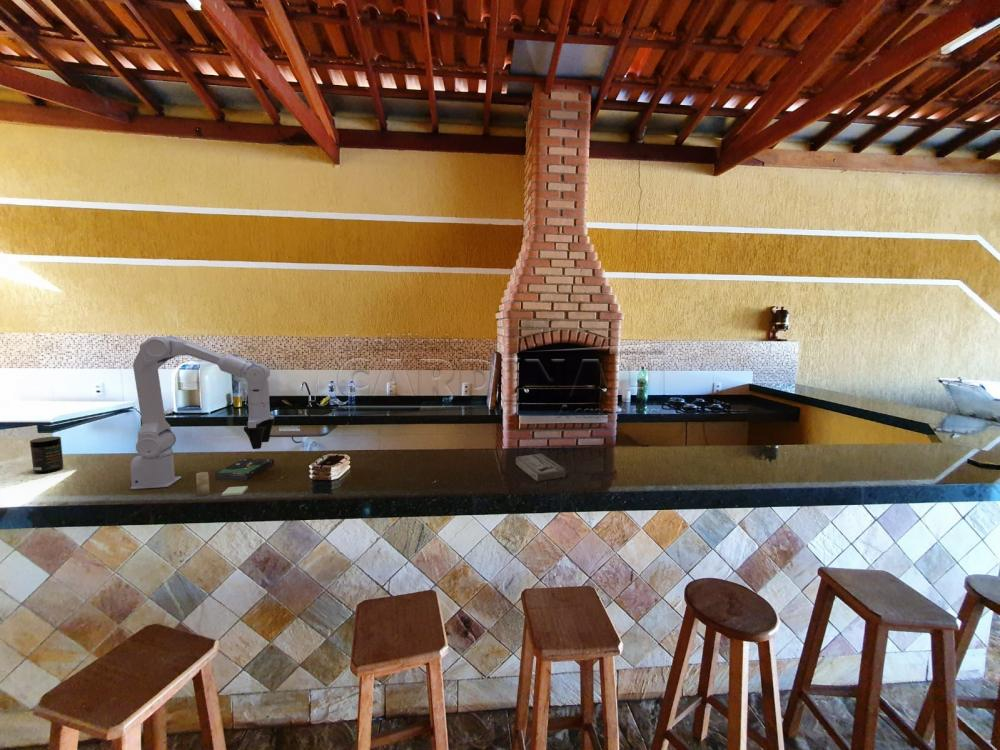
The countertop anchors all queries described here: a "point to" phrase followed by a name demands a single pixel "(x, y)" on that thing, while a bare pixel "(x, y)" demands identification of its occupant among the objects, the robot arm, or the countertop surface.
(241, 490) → the pad
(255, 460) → the disk drive
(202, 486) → the dowel
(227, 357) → the robot arm
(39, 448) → the supplement container
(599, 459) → the countertop surface
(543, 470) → the box
